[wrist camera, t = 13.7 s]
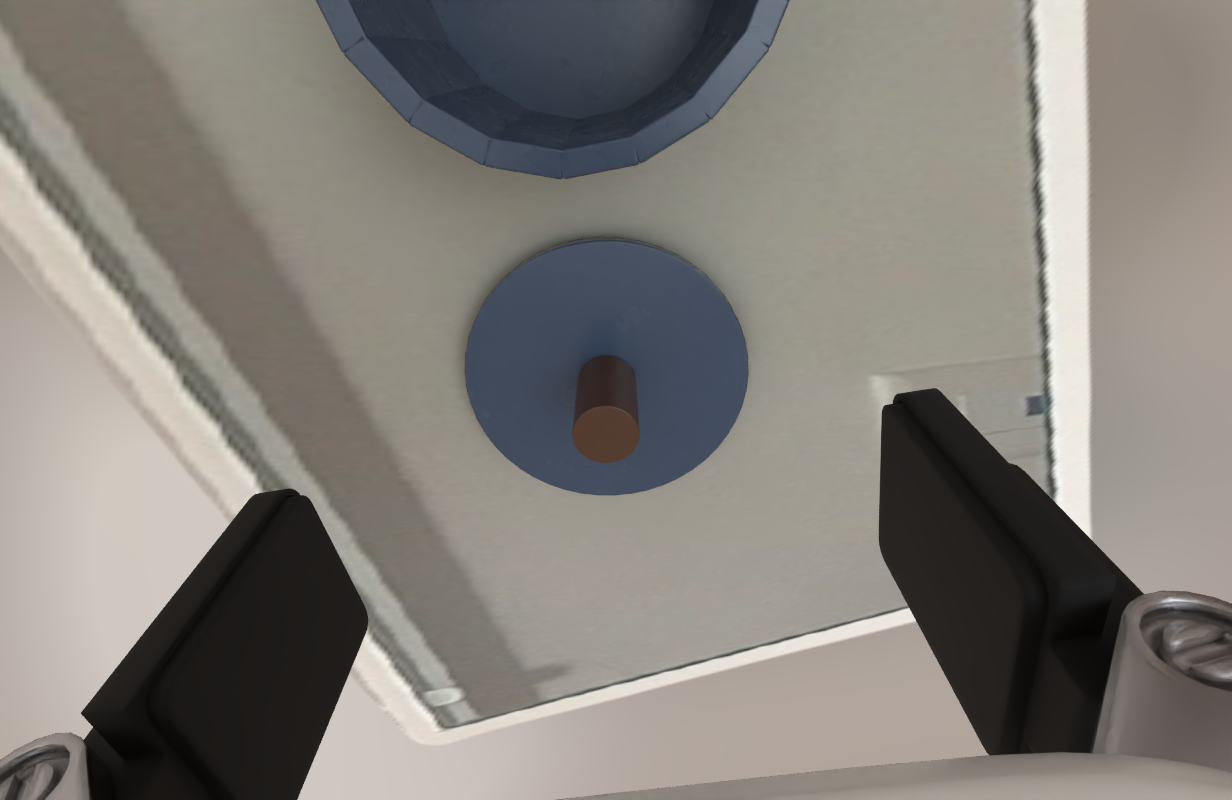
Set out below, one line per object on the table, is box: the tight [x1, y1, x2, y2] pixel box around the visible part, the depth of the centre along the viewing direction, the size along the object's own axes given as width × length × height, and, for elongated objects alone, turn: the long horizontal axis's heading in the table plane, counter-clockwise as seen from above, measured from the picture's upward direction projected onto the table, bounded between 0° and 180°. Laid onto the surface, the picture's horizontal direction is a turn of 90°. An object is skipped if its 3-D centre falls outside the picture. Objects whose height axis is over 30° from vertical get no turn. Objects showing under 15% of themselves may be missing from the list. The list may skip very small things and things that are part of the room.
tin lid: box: [465, 237, 748, 495], centre depth 29 cm, size 14×14×6 cm
